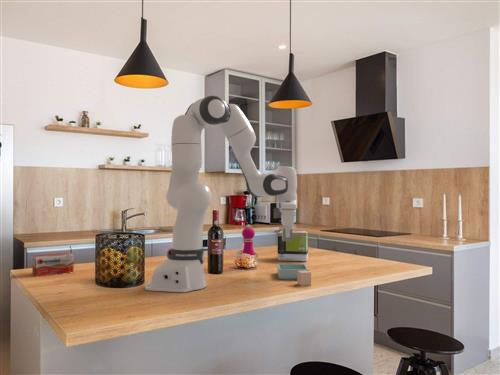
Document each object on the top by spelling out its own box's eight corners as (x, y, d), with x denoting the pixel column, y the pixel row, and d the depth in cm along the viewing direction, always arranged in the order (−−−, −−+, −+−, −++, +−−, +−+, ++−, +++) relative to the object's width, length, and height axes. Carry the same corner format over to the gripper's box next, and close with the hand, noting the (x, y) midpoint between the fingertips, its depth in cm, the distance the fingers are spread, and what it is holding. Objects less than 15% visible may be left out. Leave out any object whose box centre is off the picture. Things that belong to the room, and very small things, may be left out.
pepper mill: (254, 268, 188) (254, 225, 188) (238, 268, 189) (239, 225, 189) (257, 266, 195) (257, 224, 195) (242, 265, 196) (242, 223, 197)
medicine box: (34, 277, 168) (34, 257, 168) (31, 273, 175) (32, 255, 175) (73, 273, 177) (74, 254, 177) (69, 270, 184) (69, 252, 184)
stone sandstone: (301, 286, 154) (301, 272, 154) (297, 283, 158) (297, 270, 158) (311, 285, 155) (311, 272, 155) (306, 283, 159) (307, 270, 159)
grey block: (282, 241, 172) (282, 229, 172) (282, 240, 176) (282, 228, 176) (292, 241, 172) (292, 229, 172) (291, 240, 176) (291, 228, 176)
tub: (279, 279, 165) (279, 269, 166) (277, 273, 178) (277, 263, 178) (309, 279, 165) (309, 269, 165) (305, 273, 178) (305, 264, 178)
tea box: (308, 258, 217) (308, 230, 217) (306, 262, 207) (306, 232, 207) (280, 257, 220) (280, 230, 221) (277, 260, 211) (277, 231, 211)
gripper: (278, 203, 184) (278, 233, 184) (280, 204, 164) (281, 239, 164) (292, 203, 184) (292, 233, 184) (296, 204, 164) (296, 239, 164)
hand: (287, 236), depth 174 cm, fingers closed on grey block, 4 cm apart
